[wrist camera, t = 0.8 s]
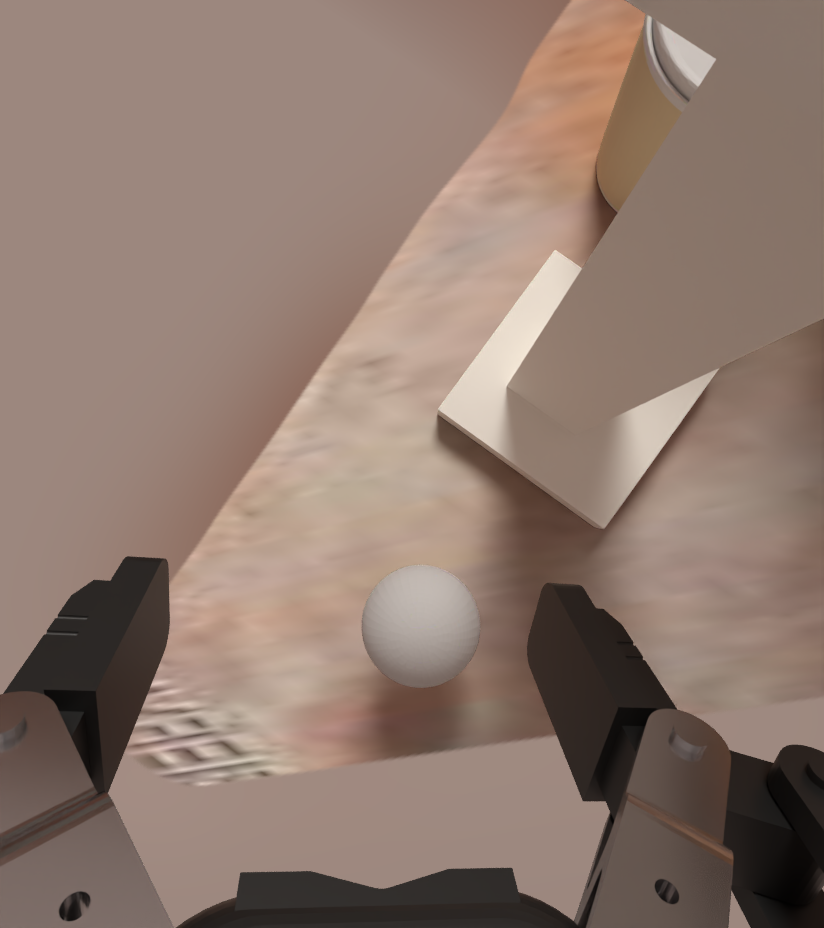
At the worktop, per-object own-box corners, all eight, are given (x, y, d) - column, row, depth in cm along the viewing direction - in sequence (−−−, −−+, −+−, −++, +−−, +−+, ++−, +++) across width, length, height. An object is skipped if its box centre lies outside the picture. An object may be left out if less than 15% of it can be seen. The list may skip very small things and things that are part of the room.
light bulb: (361, 573, 37) (335, 600, 27) (449, 539, 36) (456, 552, 27) (395, 664, 36) (382, 725, 26) (485, 629, 36) (505, 677, 26)
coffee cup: (620, 263, 37) (710, 150, 25) (558, 135, 38) (616, -34, 26) (755, 203, 37) (908, 62, 25) (690, 76, 38) (809, -120, 26)
